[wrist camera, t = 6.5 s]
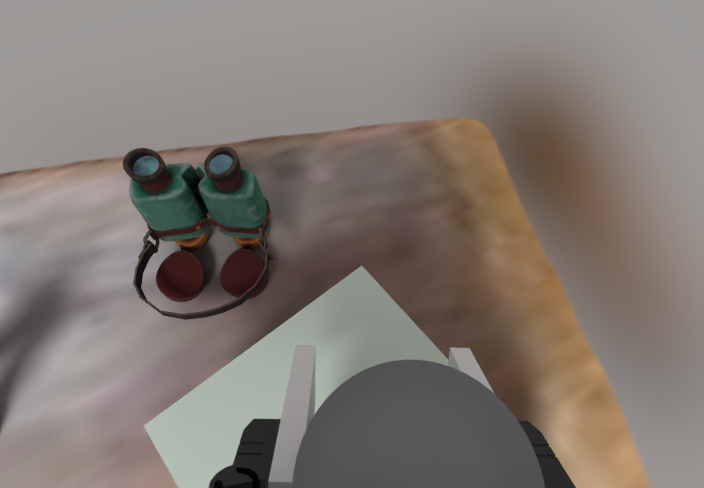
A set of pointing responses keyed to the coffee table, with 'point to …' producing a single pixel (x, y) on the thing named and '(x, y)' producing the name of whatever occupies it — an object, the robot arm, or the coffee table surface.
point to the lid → (354, 406)
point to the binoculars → (200, 223)
